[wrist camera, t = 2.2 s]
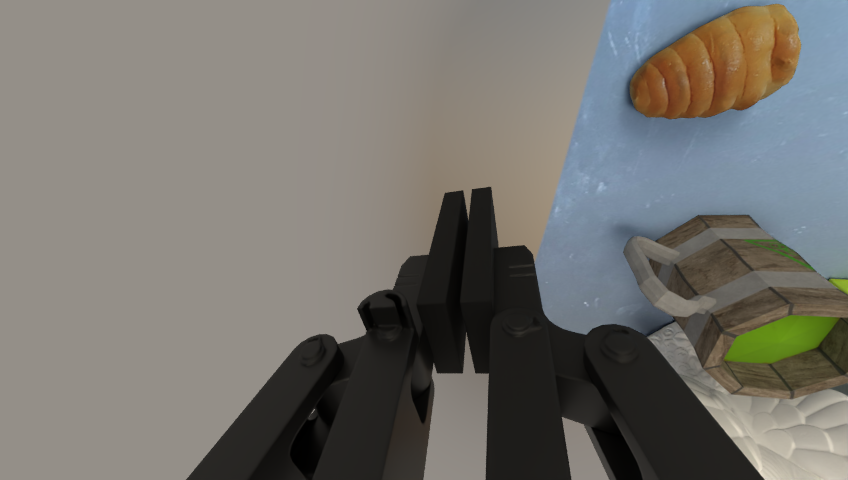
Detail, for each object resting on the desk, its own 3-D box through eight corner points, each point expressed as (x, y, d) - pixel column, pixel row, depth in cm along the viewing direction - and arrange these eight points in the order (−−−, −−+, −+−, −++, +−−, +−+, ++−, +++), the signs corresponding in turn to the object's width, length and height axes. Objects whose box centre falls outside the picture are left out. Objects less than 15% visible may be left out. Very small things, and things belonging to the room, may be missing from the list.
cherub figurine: (616, 370, 45) (688, 573, 29) (630, 300, 39) (734, 510, 22) (732, 373, 42) (887, 603, 26) (768, 298, 36) (1007, 540, 19)
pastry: (630, 133, 29) (647, 146, 26) (621, 49, 26) (639, 53, 23) (766, 91, 26) (804, 101, 23) (774, -9, 23) (820, -14, 20)
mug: (802, 234, 31) (945, 333, 22) (712, 310, 38) (792, 415, 28) (645, 177, 31) (718, 252, 21) (581, 264, 37) (613, 354, 27)
